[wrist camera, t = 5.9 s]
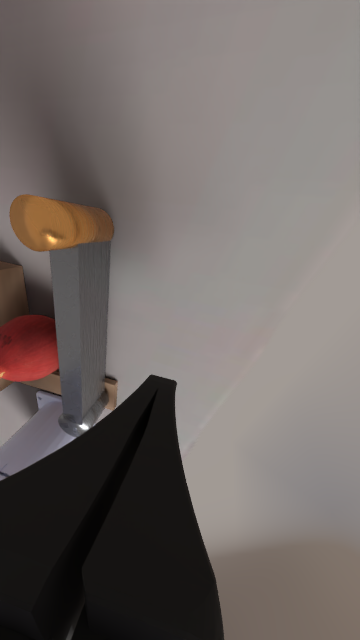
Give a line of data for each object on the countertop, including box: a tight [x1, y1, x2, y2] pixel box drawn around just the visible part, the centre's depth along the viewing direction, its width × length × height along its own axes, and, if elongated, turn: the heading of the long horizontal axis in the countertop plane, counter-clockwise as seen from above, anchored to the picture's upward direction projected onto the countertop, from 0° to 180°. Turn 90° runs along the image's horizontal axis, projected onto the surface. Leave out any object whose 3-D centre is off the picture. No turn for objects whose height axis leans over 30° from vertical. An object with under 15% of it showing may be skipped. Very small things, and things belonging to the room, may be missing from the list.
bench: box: [0, 261, 118, 410], centre depth 20 cm, size 15×13×6 cm
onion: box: [0, 315, 59, 382], centre depth 18 cm, size 6×6×8 cm
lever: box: [10, 194, 114, 437], centre depth 17 cm, size 21×3×6 cm, turn 169°
